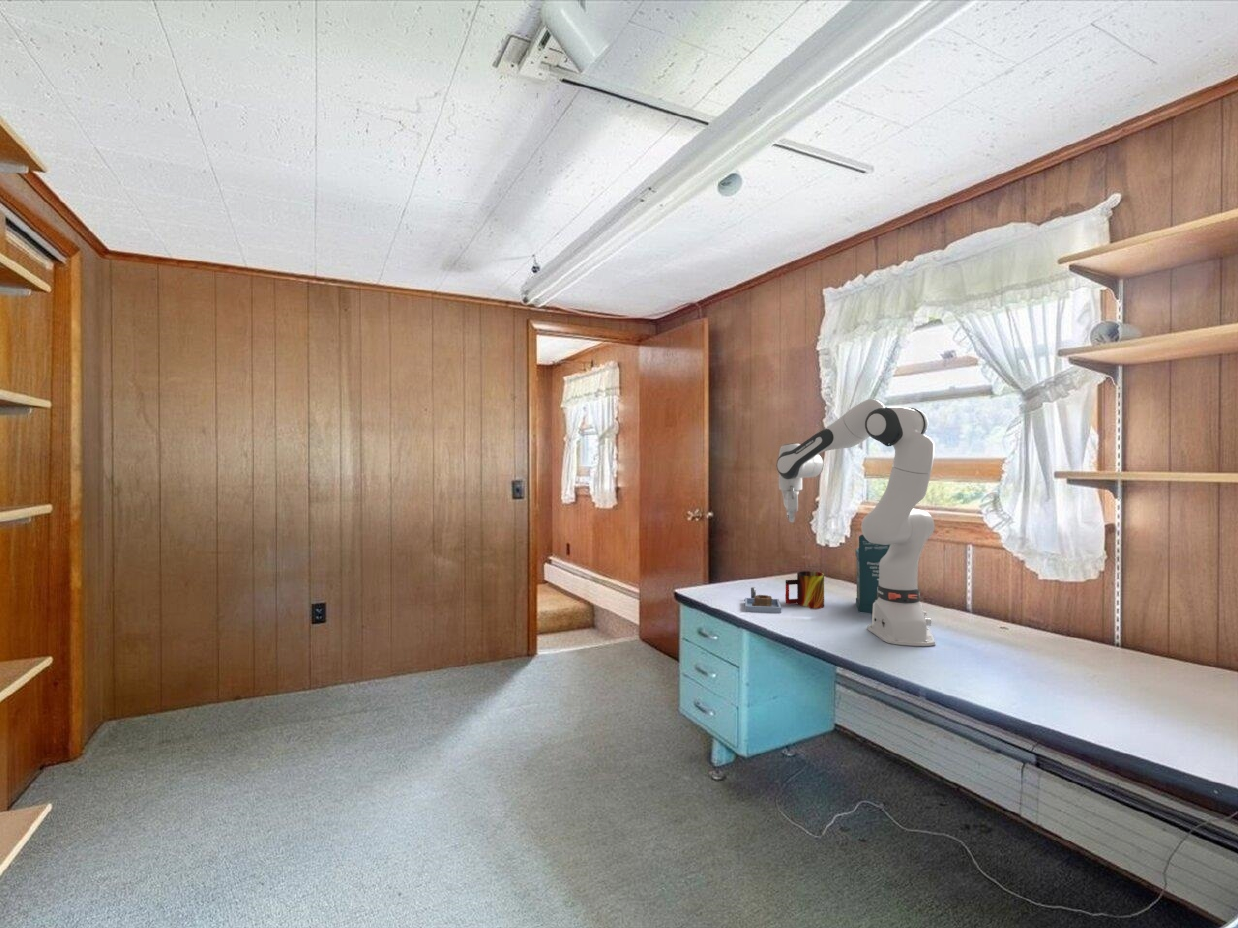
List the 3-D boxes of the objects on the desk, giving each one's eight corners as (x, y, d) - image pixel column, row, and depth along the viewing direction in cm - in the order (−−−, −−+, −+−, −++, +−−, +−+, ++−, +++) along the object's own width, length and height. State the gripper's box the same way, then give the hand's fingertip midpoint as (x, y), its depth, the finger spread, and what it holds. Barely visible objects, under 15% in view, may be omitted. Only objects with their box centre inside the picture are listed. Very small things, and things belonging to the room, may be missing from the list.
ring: (772, 610, 210) (771, 599, 209) (752, 609, 211) (752, 598, 211) (770, 605, 215) (770, 595, 215) (751, 605, 217) (751, 594, 217)
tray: (781, 614, 206) (781, 607, 206) (745, 613, 208) (745, 606, 208) (778, 605, 218) (778, 598, 218) (745, 604, 220) (745, 597, 220)
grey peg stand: (763, 604, 220) (763, 590, 220) (744, 603, 221) (744, 589, 221) (762, 599, 227) (762, 586, 227) (744, 599, 228) (743, 585, 228)
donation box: (859, 612, 208) (858, 534, 207) (854, 601, 223) (854, 528, 223) (908, 615, 203) (908, 535, 203) (900, 604, 218) (900, 530, 218)
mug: (784, 606, 217) (784, 574, 217) (807, 600, 225) (807, 570, 225) (806, 612, 209) (806, 578, 209) (829, 605, 217) (829, 574, 217)
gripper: (801, 486, 214) (802, 524, 214) (796, 484, 234) (796, 518, 234) (784, 486, 215) (784, 523, 215) (780, 484, 235) (780, 517, 235)
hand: (790, 520), depth 225 cm, fingers open, 8 cm apart
